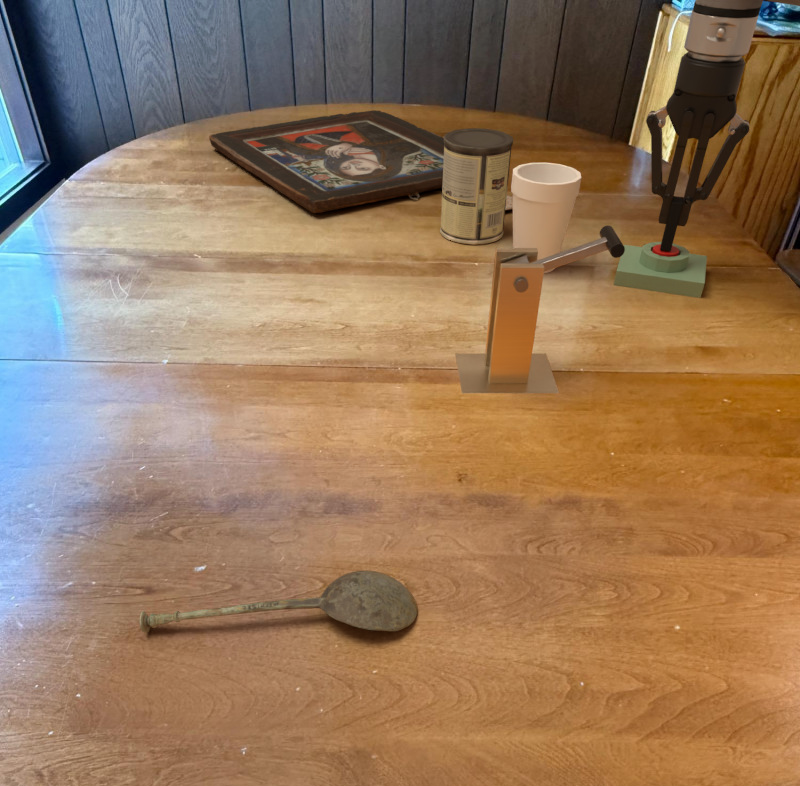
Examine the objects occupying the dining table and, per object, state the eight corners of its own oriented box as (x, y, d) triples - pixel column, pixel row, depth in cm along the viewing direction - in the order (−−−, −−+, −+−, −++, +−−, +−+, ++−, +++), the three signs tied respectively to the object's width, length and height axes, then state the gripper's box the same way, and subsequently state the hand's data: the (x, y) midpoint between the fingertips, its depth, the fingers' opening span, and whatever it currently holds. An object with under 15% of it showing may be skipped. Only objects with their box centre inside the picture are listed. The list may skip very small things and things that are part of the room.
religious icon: (316, 222, 126) (315, 203, 124) (207, 150, 154) (204, 133, 152) (507, 180, 143) (509, 163, 141) (377, 122, 171) (377, 107, 169)
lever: (615, 240, 82) (611, 218, 81) (626, 259, 78) (623, 237, 77) (504, 278, 85) (498, 258, 83) (510, 299, 81) (505, 278, 79)
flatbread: (469, 211, 131) (469, 205, 130) (474, 196, 136) (474, 190, 136) (517, 215, 130) (518, 209, 129) (520, 200, 135) (521, 194, 135)
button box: (702, 270, 115) (710, 243, 112) (700, 298, 108) (708, 270, 105) (621, 258, 117) (626, 232, 115) (613, 285, 110) (619, 258, 108)
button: (676, 258, 112) (679, 246, 111) (675, 267, 109) (678, 255, 108) (651, 254, 113) (654, 242, 111) (649, 264, 110) (652, 252, 109)
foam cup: (550, 284, 110) (564, 189, 102) (492, 269, 114) (501, 176, 105) (575, 261, 116) (591, 170, 108) (519, 247, 120) (530, 158, 111)
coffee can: (453, 216, 129) (458, 124, 120) (511, 227, 126) (522, 133, 117) (428, 238, 122) (433, 141, 113) (490, 249, 119) (499, 151, 110)
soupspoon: (422, 644, 62) (411, 588, 67) (424, 614, 60) (414, 558, 65) (137, 659, 59) (148, 599, 64) (129, 629, 57) (142, 569, 62)
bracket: (544, 362, 94) (563, 240, 84) (558, 402, 87) (580, 275, 77) (454, 362, 94) (463, 240, 84) (461, 402, 87) (471, 275, 77)
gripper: (657, 56, 93) (616, 250, 108) (772, 66, 90) (712, 264, 106) (661, 44, 98) (622, 231, 114) (770, 53, 95) (714, 243, 111)
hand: (665, 246), depth 110 cm, fingers closed
